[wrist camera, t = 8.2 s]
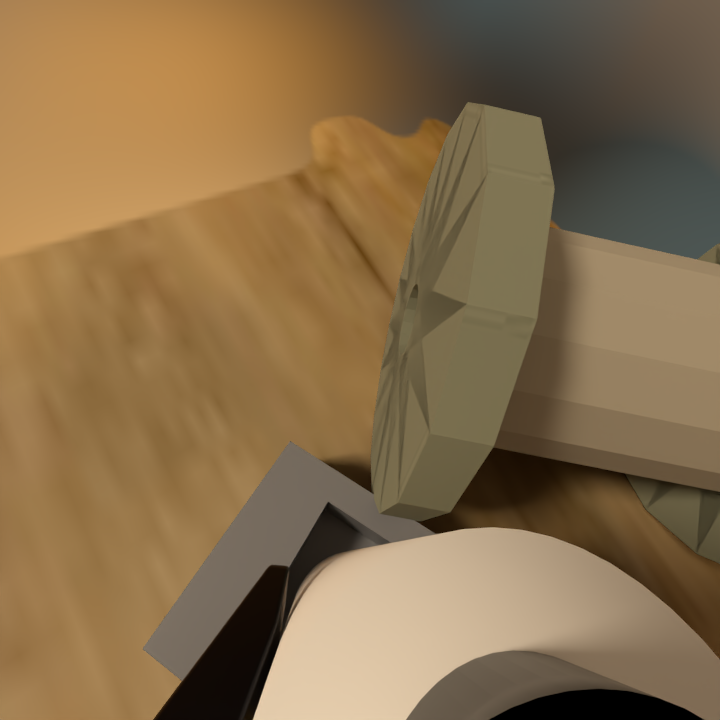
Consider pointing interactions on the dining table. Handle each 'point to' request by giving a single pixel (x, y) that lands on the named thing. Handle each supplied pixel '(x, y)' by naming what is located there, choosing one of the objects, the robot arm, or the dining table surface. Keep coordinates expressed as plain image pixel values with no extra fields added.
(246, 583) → the compartment tray
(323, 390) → the dining table surface
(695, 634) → the bottle
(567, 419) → the spool
